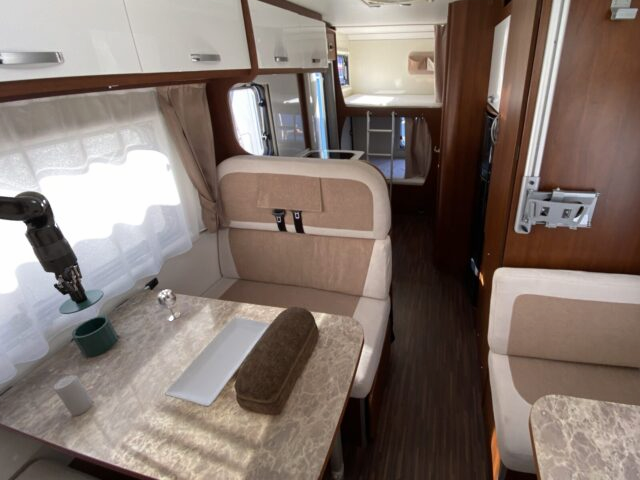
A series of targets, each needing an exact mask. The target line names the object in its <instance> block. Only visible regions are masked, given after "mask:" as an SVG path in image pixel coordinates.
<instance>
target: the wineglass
mask: <svg viewBox="0 0 640 480" xmlns="http://www.w3.org/2000/svg"><path fill="white" fill-rule="evenodd" d="M176 302H177V296H176V294H175V293H174V292H173V290H172V289H170V288H168V289H164V290H162V291H160V292H159V293H158V294H157V303H158V305H159V306H160V307H161V308H162V309H169V310H170V313H171V314H169V315H168V316H167V320H168V321H174V320H177V319H178V318H179V317H180V316H181V312H179V311H175V312H174V311H173V306H174V305H175V303H176Z"/></svg>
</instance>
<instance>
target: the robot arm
mask: <svg viewBox="0 0 640 480" xmlns="http://www.w3.org/2000/svg"><path fill="white" fill-rule="evenodd" d="M0 220H3V221H9V222H10V221H11V222H22V223H23V226H24V228H23V233H24V236H25V238H26V239H27V241H28V243H29V245H30V246H31V248H32V250H33V254H34V256H35V258H36V259H37V260H38V262H39V264H40V266H41V267H42V269H43V271H44V272H45V273H52V274H54V278H55V280H56V281H57V282H56V283H53V287H54V288H55V290H57V291H58V292H59V293H60V294H61V295H62V296H66V295H68V296H69V297H70V298H71V299H72V301H78V300H81V299H82V296H81V294H80V292H79V291H78V289H77V287H76V284H75V283H76V282H79V283H80V285H81V287H82V289H83V290H84V292H85V291H86V289H85V288H84V286H83V284H82V280H81V279H83V275H82V272H81V268H80V265H79V262H78V257H77V255H76V253H75V251H74V250H73V248H72V246H71V244H70V242H69V241H68V239H67V238H66V237H65V235H64V233H63V231H62V229H61V228H60V226H59V225H58V223H57V221H56V218H55V214H54V211H53V208H52V206H51V203H50V201H49V199H48V198H47V197H46V196H45V195H44V194H42V193H40V192H38V191H32V190H27V191H23V192H19V193H18V194H16V195H15V196H5V195H4V196H3V195H0ZM71 286H72V287H71Z"/></svg>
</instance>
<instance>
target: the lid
mask: <svg viewBox="0 0 640 480" xmlns="http://www.w3.org/2000/svg"><path fill="white" fill-rule="evenodd" d="M75 284H76V287H77V289H78V291H79V292H80V294H81V296H82V299H81V300H78V301H72V299H71V297H70V298H69V299H67V300H65V301H64V302H63V303H62V304H60V306H59V308H58V312H59V313H60V314H63V315H70V314H72V315H73V314H76V313H79V312H82V311H84V310H87V309H88V308H91V307H93V306H94V305H95V304H97V303H98V302H99V301H101V299H102V298H103V297H104V295H105V294H104V291H103V290H102V289H98V288H97V289H89V290H85V289H84V290H85V292H84V290H83V289H82V287H81V285H80V283H79V282H76V283H75ZM71 287H72V286H71Z"/></svg>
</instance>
